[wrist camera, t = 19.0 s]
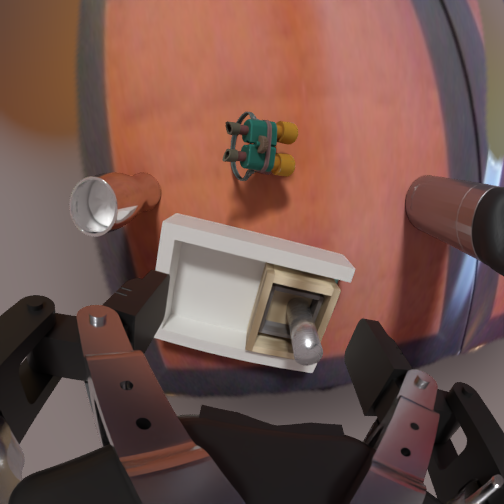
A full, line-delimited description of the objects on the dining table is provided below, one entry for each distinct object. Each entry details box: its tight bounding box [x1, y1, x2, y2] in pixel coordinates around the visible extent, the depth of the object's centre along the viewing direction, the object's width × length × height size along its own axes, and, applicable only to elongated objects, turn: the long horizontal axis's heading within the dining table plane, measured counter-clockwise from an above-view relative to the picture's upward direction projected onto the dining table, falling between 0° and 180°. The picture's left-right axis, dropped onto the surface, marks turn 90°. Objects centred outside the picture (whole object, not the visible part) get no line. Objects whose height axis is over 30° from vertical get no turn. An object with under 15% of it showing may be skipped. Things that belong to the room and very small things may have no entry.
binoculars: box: [223, 112, 298, 181], centre depth 36 cm, size 9×9×10 cm
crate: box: [245, 262, 341, 359], centre depth 42 cm, size 10×12×6 cm
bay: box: [154, 213, 355, 373], centre depth 43 cm, size 26×18×6 cm
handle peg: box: [286, 297, 323, 366], centre depth 38 cm, size 3×3×12 cm
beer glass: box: [69, 172, 161, 237], centre depth 35 cm, size 7×7×15 cm
